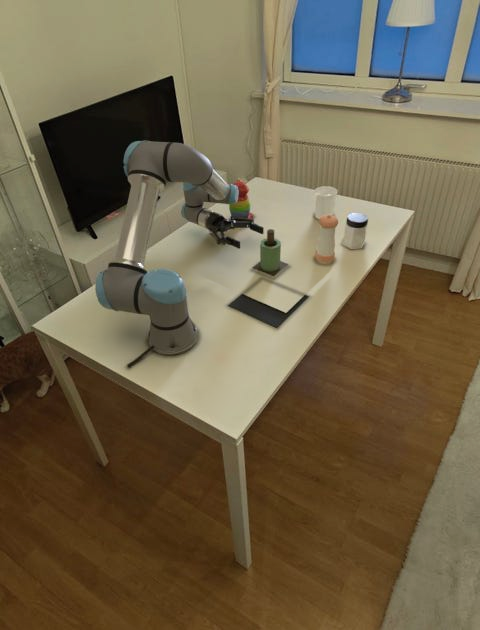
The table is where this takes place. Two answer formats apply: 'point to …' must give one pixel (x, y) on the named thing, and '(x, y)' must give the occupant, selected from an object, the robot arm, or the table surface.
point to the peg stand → (270, 244)
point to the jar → (355, 230)
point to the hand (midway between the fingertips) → (251, 237)
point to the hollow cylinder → (270, 255)
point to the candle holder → (325, 201)
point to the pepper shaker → (326, 239)
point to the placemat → (263, 310)
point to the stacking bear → (241, 202)
